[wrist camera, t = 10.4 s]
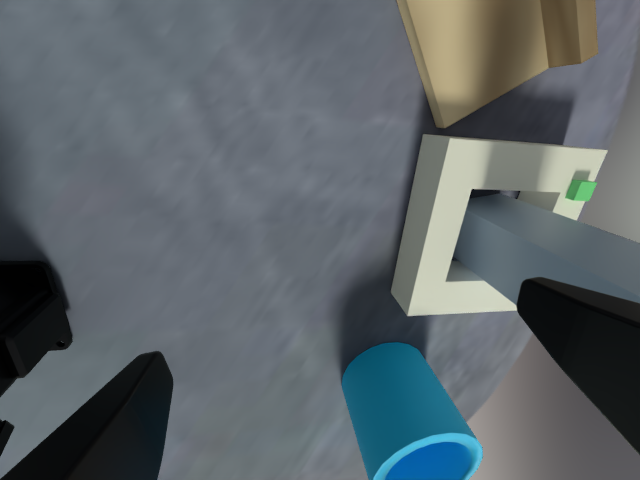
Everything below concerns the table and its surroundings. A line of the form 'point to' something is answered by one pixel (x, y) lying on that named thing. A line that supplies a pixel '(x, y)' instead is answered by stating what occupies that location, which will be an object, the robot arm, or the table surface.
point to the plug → (543, 249)
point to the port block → (451, 202)
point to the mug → (406, 418)
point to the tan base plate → (492, 46)
